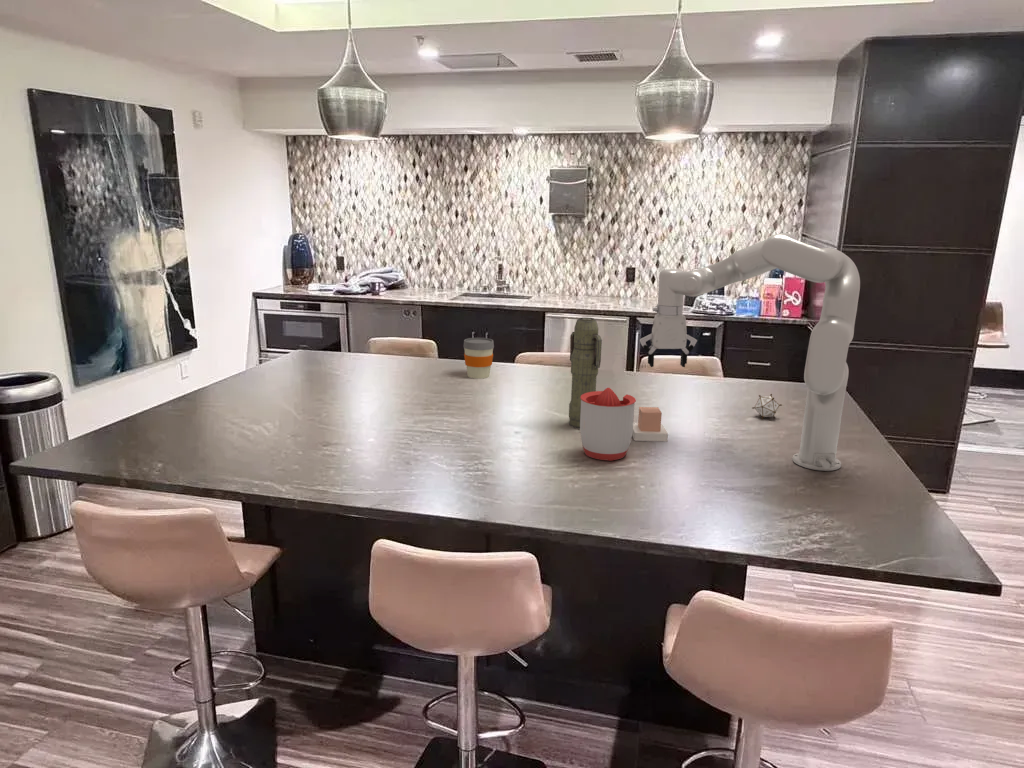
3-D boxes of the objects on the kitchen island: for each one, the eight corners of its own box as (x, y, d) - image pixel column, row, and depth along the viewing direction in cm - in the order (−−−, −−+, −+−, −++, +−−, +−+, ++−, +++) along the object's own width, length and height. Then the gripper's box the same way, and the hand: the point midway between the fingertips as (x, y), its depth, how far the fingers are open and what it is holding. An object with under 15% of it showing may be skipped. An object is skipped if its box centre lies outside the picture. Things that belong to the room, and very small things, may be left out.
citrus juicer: (642, 450, 209) (646, 384, 204) (619, 468, 195) (624, 397, 190) (593, 440, 217) (596, 377, 212) (568, 457, 202) (571, 389, 197)
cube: (660, 431, 218) (661, 412, 217) (640, 431, 218) (642, 412, 217) (657, 425, 224) (658, 407, 223) (637, 425, 224) (639, 406, 223)
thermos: (575, 418, 239) (579, 314, 230) (604, 425, 231) (610, 319, 223) (559, 423, 232) (563, 317, 224) (589, 431, 225) (594, 322, 216)
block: (667, 441, 217) (667, 433, 216) (634, 440, 217) (635, 433, 216) (661, 431, 227) (661, 423, 226) (629, 430, 227) (630, 423, 226)
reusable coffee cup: (499, 375, 295) (500, 339, 292) (482, 381, 285) (482, 344, 281) (474, 371, 302) (475, 336, 298) (457, 376, 292) (457, 341, 288)
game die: (769, 429, 243) (784, 412, 235) (746, 419, 244) (760, 401, 236) (773, 411, 249) (787, 393, 241) (750, 401, 250) (763, 383, 242)
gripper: (643, 312, 211) (641, 368, 215) (701, 312, 211) (698, 368, 215) (639, 309, 218) (636, 363, 222) (695, 309, 218) (691, 363, 222)
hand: (667, 366), depth 218 cm, fingers open, 9 cm apart
